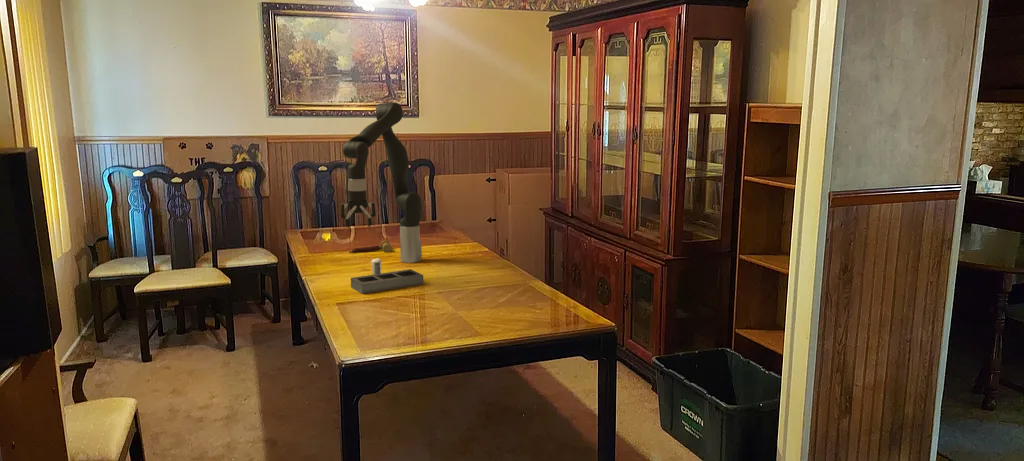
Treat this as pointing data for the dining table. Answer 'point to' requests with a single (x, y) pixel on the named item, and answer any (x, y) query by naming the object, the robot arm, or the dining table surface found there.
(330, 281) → the dining table surface
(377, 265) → the milkshake
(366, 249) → the gavel
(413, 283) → the three-window grey frame
